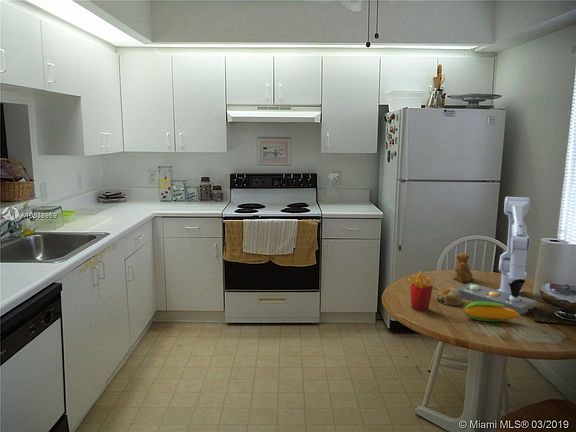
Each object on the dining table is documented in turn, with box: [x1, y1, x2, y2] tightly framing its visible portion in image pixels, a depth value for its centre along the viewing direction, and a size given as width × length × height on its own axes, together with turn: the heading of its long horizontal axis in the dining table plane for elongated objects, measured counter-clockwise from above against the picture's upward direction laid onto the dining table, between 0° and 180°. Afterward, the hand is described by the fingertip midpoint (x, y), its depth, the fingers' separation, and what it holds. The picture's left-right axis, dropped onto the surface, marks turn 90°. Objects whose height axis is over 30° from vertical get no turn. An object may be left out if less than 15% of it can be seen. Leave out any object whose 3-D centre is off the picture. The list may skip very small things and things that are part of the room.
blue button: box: [509, 295, 520, 303], centre depth 198 cm, size 4×4×3 cm
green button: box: [469, 284, 480, 292], centre depth 212 cm, size 4×4×3 cm
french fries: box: [407, 271, 434, 312], centre depth 194 cm, size 9×8×15 cm
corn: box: [463, 301, 520, 323], centre depth 183 cm, size 7×8×20 cm
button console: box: [454, 282, 538, 316], centre depth 205 cm, size 14×30×3 cm, turn 39°
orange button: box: [489, 292, 499, 297], centre depth 205 cm, size 4×4×3 cm
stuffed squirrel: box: [450, 252, 473, 284], centre depth 234 cm, size 10×14×13 cm
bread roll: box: [436, 287, 463, 306], centre depth 203 cm, size 10×10×8 cm
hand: (514, 296), depth 198 cm, fingers closed
